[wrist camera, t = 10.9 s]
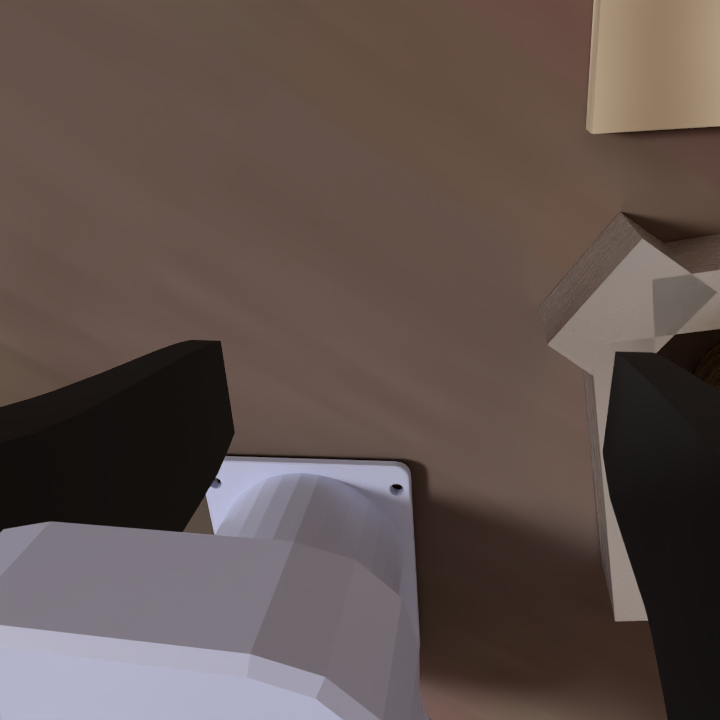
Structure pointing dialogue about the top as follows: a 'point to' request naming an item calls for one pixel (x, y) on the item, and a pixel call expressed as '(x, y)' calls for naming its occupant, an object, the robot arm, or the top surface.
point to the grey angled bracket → (627, 343)
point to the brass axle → (710, 368)
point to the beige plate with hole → (654, 65)
